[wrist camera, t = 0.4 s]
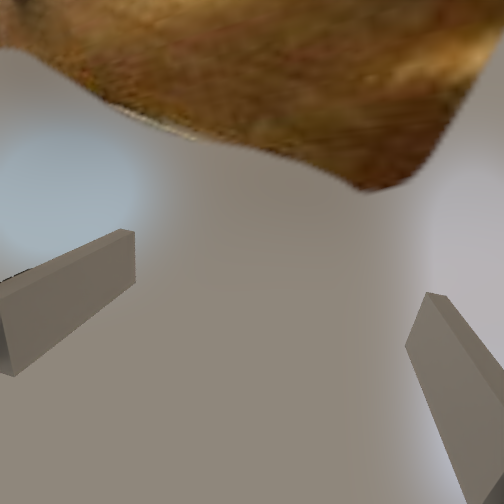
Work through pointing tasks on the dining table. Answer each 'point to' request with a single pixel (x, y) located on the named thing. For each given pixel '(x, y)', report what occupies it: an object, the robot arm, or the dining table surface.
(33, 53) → the dining table surface
